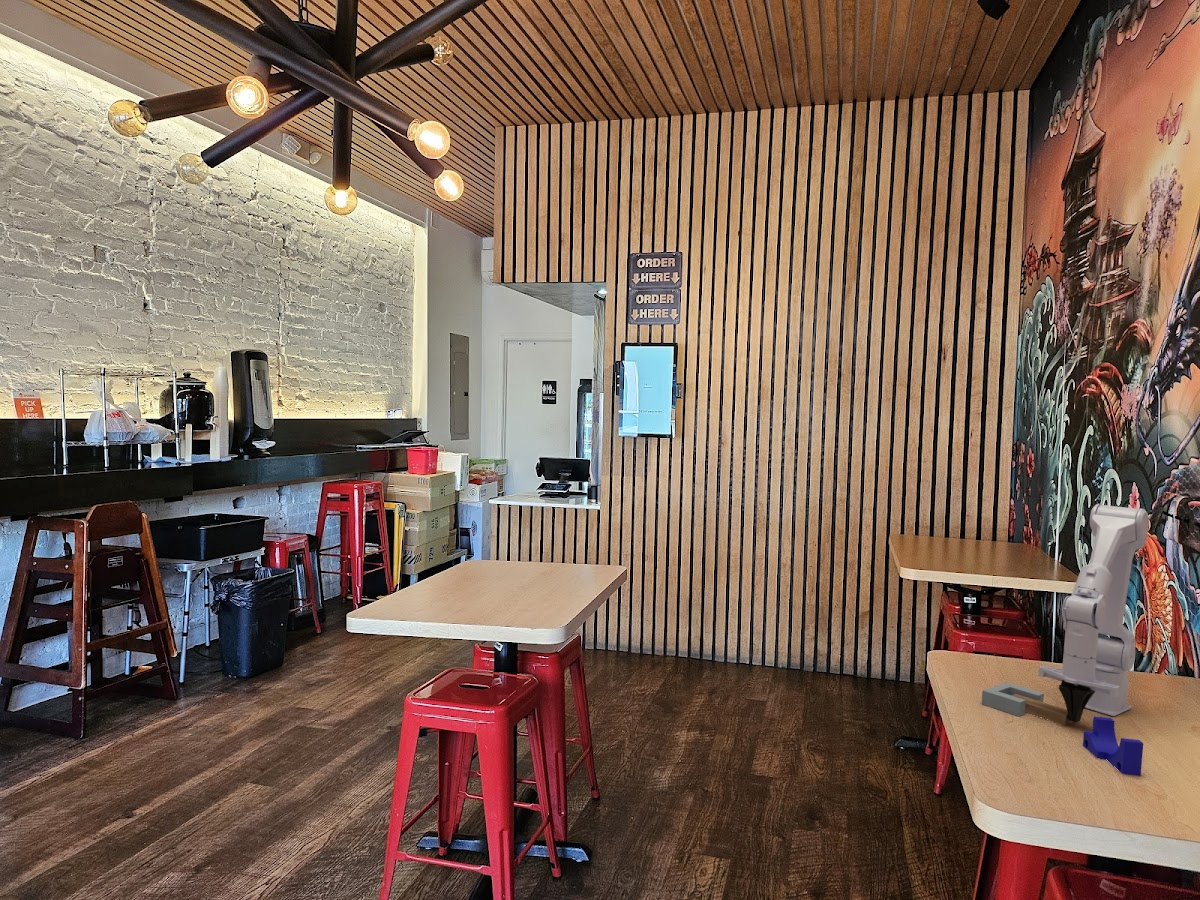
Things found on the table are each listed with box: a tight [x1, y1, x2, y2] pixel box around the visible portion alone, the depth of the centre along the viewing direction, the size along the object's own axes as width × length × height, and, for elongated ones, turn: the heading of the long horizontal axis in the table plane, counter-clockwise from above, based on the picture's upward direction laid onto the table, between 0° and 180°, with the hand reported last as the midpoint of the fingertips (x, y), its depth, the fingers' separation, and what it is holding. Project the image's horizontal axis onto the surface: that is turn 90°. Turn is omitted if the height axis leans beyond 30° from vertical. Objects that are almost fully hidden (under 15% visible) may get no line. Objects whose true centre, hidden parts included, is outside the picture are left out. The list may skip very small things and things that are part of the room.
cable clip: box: [1082, 715, 1144, 777], centre depth 148 cm, size 12×4×6 cm, turn 172°
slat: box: [1011, 694, 1073, 726], centre depth 170 cm, size 4×12×2 cm, turn 37°
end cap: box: [981, 682, 1045, 717], centre depth 175 cm, size 11×8×3 cm
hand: (1074, 720), depth 165 cm, fingers closed
